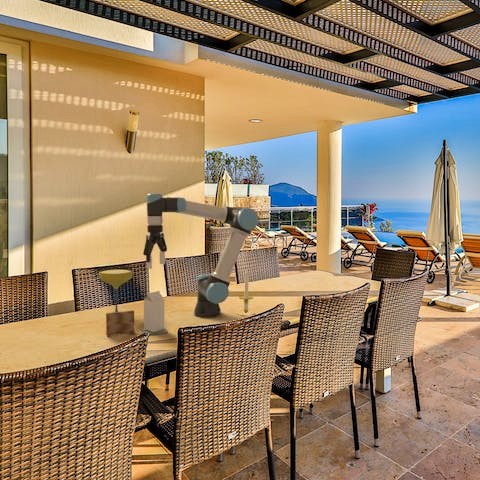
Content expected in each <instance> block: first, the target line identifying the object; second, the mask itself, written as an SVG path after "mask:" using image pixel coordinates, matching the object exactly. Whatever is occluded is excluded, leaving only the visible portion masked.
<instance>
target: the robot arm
mask: <svg viewBox="0 0 480 480" xmlns="http://www.w3.org/2000/svg"><path fill="white" fill-rule="evenodd" d="M163 213H176V214H182V215H186V216H192V217H199V218H203V219H209V220H214V221H219V222H220V223H222V224H226V225H229V229H230V234H228V235H229V236H228V238H227V240H226V243H225V246H224V248H223V251H222V253H221V255H220V258H219V259H218V263H217V265H216V266H215V267H216V268H215V269H214V271H213V272H211V273H208V274H207V273H205V274H199V275H198V276H197V280H196V281H197V286H196V287H197V298H196V299H197V301H196V304H195V307H194V310H193V313H194V314H193V315H194V316H196V317H198V318H204V317H211V318H217V317H219V316H221V315H220V314H221V313H222V311H221V308H220V306H221V305H220V304H222V303H224V302H225V301H226V300H227V298H228V297H229V294H230V293H229V287H230V284H231V280H230V278H231V277H230V276H231V274H232V272H233V269H234V267H235V264H236V261H237V259H238V258H239V254H240V252H241V250H242V247H243V246H244V242H245V240H246V238H247V237H249V236H250V235H251V232H252V230H254V229H255V228H257V226H258V223H259V215H258V213H257V212H256V211H255V210H254V209H253V208H251V207H248V206H247V207H242V206H241V207H240V206H234V207H231V206H226V205H224V206H223V207H221V206H217V205H212V204H211V205H210V204H207V203H200V202H195V201H191V200H186V198H185V197H179V196H178V197H170V196H167V197H163V194H162V193H148V194H147V195H146V214H147V215H146V219H147V223H146V224H147V233H149V234H146V236H145V243H144V248H143V253H142V254H143V256H146V257H145V260H146V261H145V262H146V263H145V264H146V265H145V266H146V269H149V270H151V269H153V256H152V252H153V249H154V248H155V245H157V246H158V248H159V265H166V252H167V251H168V247H167V244H166V243H167V242H166V240H165V239H166V238H165V234H164V227H163V222H164V221H163V220H164V219H163ZM216 316H217V317H216Z"/></svg>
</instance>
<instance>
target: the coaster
mask: <svg viewBox="0 0 480 480" xmlns="http://www.w3.org/2000/svg"><path fill="white" fill-rule="evenodd" d="M140 330H141V332H142V333H143V334H144V333H146V332H147V333H149V336H157V335H165V334H169V332H168V330H167V329H166V327H164V329H163V330H160V331H157V332H151V331H147V330H144V326H143V327H140Z"/></svg>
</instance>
